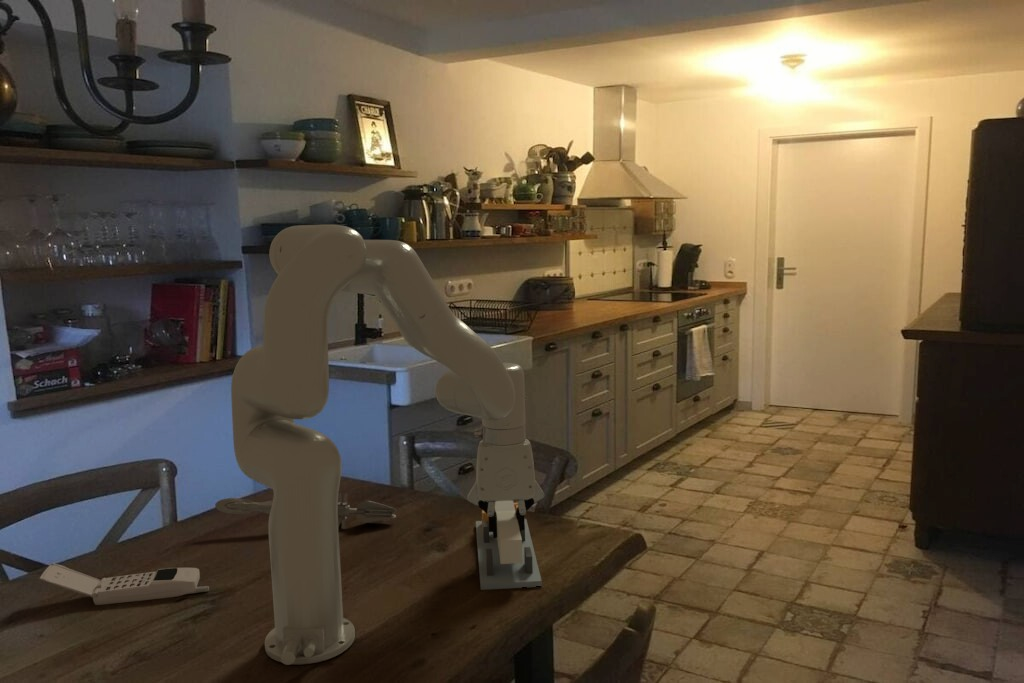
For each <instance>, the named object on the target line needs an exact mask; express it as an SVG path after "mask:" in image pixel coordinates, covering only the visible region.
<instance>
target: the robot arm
mask: <svg viewBox="0 0 1024 683" xmlns="http://www.w3.org/2000/svg"><path fill="white" fill-rule="evenodd" d="M268 253H269V255H268V256H269V261H270V264H271V267H272V268H273V270H274V271H275V273H276V274H277V277H276V278H275V279H274V282H273V283H272V285H271V287H270V289H269V291H268V294H267V297H266V300H265V304H264V310H263V312H264V313H263V334H262V336H263V338H262V340H263V342H262V343H263V344H261V345H258V346H254V347H252V348H251V349H249V350H248V351H246V352H244V353H243V355H241V357H240V358H239V360H238V362H237V363H236V364H235V368H234V370H233V373H232V376H231V377H232V379H231V386H230V392H231V393H230V394H231V395H230V396H231V398H230V400H231V415H232V416H231V418H232V419H231V420H232V439H233V449H234V450H233V451H234V457H235V460H236V463H237V465H238V468H239V469H240V471H241V472H242V473H243V474H244V475H245V476H246V477H247V478H249V479H250V480H253V481H254V482H257V483H259V484H260V485H263V486H266V487H268V488H269V489H271V490H272V491H273V498H272V500H273V503H272V507H271V511H270V514H268V515H269V516H268V523H267V524H268V544H269V554H270V555H269V558H270V572H271V588H272V601H273V602H272V603H273V619H274V628H272V629H271V630H270V631H269V632H268V633H267V635H266V636H265V639H264V650H265V653H266V654H267V656H268V657H269V658H271V659H272V660H274V661H277V662H278V663H279V662H280V663H282V664H284V665H286V666H289V665H310V664H311V665H312V664H317V663H320V662H323V661H327V660H329V659H333V658H335V657H336V656H339V655H340V654H342V653H343V652H345V651H347V650H348V648H350V647H351V645H352V644H353V643H354V641H355V637H356V633H355V632H356V630H355V629H356V628H355V626H354V624H353V623H352V622H351V621H350V620H348V619H347V618H345V617H344V609H343V606H344V605H343V594H342V593H343V592H342V591H343V589H342V575H341V574H342V572H341V569H342V568H341V554H340V553H341V552H340V536H339V528H338V496H339V493H340V492H339V491H340V486H341V485H340V483H341V478H342V468H343V466H342V465H343V464H342V457H341V454H340V451H339V449H338V447H337V445H336V444H335V443H334V442H333V441H332V439H331V438H329V436H327V435H325V434H323V433H322V432H320V431H319V430H316V429H313V428H310V427H307V426H303V425H300V424H297V423H295V420H307V419H312V418H314V417H316V416H318V415H319V414H320V413H322V411H323V410H324V408H326V404H327V403H328V400H329V394H330V393H329V392H330V372H329V370H330V368H329V366H330V365H329V345H328V343H329V341H328V340H329V339H328V337H329V336H328V334H329V316H330V313H331V309H332V306H333V305H334V302H335V300H337V298H338V296H339V294H341V292H343V293H353V294H360V295H362V294H363V295H371V296H373V295H374V296H375V297H376V298H377V299H378V300H379V302H380V304H381V305H382V306H383V308H384V309H385V310H386V312H387V315H388V316H389V317H390V319H391V320H392V322H393V323H394V324H395V327H396V328H397V330H398V331H399V332H400V334H401V336H402V337H403V339H404V340H405V342H407V344H408V345H409V346H411V347H412V348H413V349H415V350H416V351H418V352H419V353H421V354H422V355H424V356H426V357H428V358H430V359H432V360H434V361H436V362H438V363H440V364H441V365H443V366H445V367H447V368H448V369H449V370H447V371H446V372H445V373H443V374H442V375H441V376H440V377H439V378H438V380H437V383H436V385H435V396H436V399H437V401H438V403H439V405H441V407H443V408H444V409H446V410H447V411H449V412H453V413H456V414H460V415H465V416H471V417H475V418H480V419H481V422H482V423H481V424H482V425H481V426H480V427H479V428H474V430H473V435H474V436H473V437H475V438H476V437H477V438H480V441H479V443H478V447H477V452H476V454H477V455H476V467H475V468H476V472H475V473H476V474H475V475H476V479H475V482H474V483H473V485H472V487H471V489H470V490H469V492H468V494H467V497H466V498H467V501H468V502H470V503H471V504H473V505H474V506H478V507H479V508H480V510H481V511H482V510H483V511H484V512H485V513H487V515H488V516H489V532H493V538H496V537H497V514H496V512H495V502H496V501H513V502H515V501H516V503H518V507H517V509H516V511H515V513H516V518H517V520H518V525H519V529H520V534H521V530H525V522H524V519H525V515H526V514H527V511H528V510H530V508H531V507H532V506H533V505H534V504H535V503H537V502H538V501H540V500H542V499H543V498H545V493H544V491H543V489H542V488H541V486H540V485H539V483H538V482H537V480H536V476H535V466H534V465H535V463H534V455H533V449H532V444H531V441H530V440H529V439H527V436H526V435H527V434H526V430H527V429H526V402H525V400H526V399H525V393H526V391H525V373H524V369H523V367H522V366H521V365H519V364H517V363H514V362H513V363H512V362H503V361H502V360H501V358H500V357H499V355H498V353H496V351H495V350H494V349H493V348H492V347H491V346H490V345H489V344H488V343H487V341H485V340H484V339H483V338H482V337H481V336H479V335H478V333H476V332H475V331H474V330H473V329H472V328H470V327H469V326H468V325H467V324H466V323H465V322H464V321H462V320H461V319H460V318H458V317H457V316H456V315H455V314H454V313H453V311H452V310H451V308H450V307H449V305H448V303H447V301H446V300H445V298H444V297H443V295H442V294H441V292H440V290H439V288H438V287H437V285H436V283H435V281H434V280H433V278H432V277H431V275H430V273H429V272H428V270H427V268H426V267H425V265H424V263H423V262H422V260H421V258H420V256H419V255H418V253H417V251H415V250H414V248H413V247H411V246H410V244H408V243H405V242H403V241H401V240H393V239H364V238H363V235H361V234H360V233H359V232H358V231H357V230H355V229H354V228H352V227H349V226H345V225H341V224H308V225H307V224H305V225H303V224H302V225H300V224H298V225H292V226H289V227H285V228H284V229H282V230H281V231H279V232H278V233H277V234H276V235H275V236H274V238H273V239H272V241H271V244H270V247H269V252H268Z"/></svg>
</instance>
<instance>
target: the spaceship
mask: <svg viewBox="0 0 1024 683" xmlns="http://www.w3.org/2000/svg"><path fill="white" fill-rule="evenodd" d="M348 495H349V494H348V493H347V492H346V493H344V496H343V494H342V493H340V492H339V493H338V529H340V528H339V527H340V522H341V529H345V528H346V527H345V526H346V520H347V519H348V517H349V516H350V515H356V519H358V520H360V521H362V522H364V523H365V524H371V523H375V522H382V521H387V520H393V519H395V518H397V515H396V514H394V512H397V508H394V507H393V506H388V505H385V504H382V503H379V502H375V501H372V500H365V501H363V502H360V503H359V504H358V503H357V505H356V507H351V506H350V504H349V502H348ZM342 496H343V497H342ZM342 500H343V502H342ZM272 503H273V499H272V500H267V501H262V502H256V501H255V502H254V501H252V500H250V499H248V498H237V497H227V498H222V499H220V500H218V501H216V502H215V509H217V510H218V511H219V512H222V513H226V514H230V515H233V514H237V515H247V514H250V513H252V512H261V513H263V514H266V515H270V511H271V507H272Z"/></svg>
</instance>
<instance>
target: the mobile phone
mask: <svg viewBox="0 0 1024 683" xmlns="http://www.w3.org/2000/svg"><path fill="white" fill-rule="evenodd" d="M200 574H201V573H200V569H199V568H197V567H167V568H158V569H157V570H156V571H150V572H142V573H134V574H126V575H119V576H112V577H102V578H101V579H99V578H97V577H93V576H91V575H88V574H85V573H82V572H79V571H77V570H75V569H71V568H68V567H67V566H65V565H61V564H57V563H54V562H53V563H51V564H49V566H48V567H47V568H46V569H45V570H43V572H42V573H41V575H40V577H39V580H41V581H44V582H46V583H49V584H53V585H54V586H57V587H61V588H63V589H66V590H69V591H72V592H75V593H79V594H81V595H84V596H87V597H90V598H92V602H93V604H94V605H95V606H101V605H111V604H121V603H122V604H123V603H131V602H141V601H142V602H143V601H150V600H158V599H159V600H160V599H161V600H162V599H168V598H175V597H181V596H184V595H189V594H197V593H203V592H209V591H210V586H209V585H205V586H203V585H202V586H198V584H199V581H200V578H201V575H200Z"/></svg>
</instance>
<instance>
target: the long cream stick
mask: <svg viewBox="0 0 1024 683" xmlns="http://www.w3.org/2000/svg"><path fill="white" fill-rule="evenodd" d="M514 503H515V502H514V501H496V502H495V512H496V514H497V543H498V550H499V557H500V564H511V563H522V538H521V534H520V529H519V525H518V520H517V518H516V513H515V507H514Z"/></svg>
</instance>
